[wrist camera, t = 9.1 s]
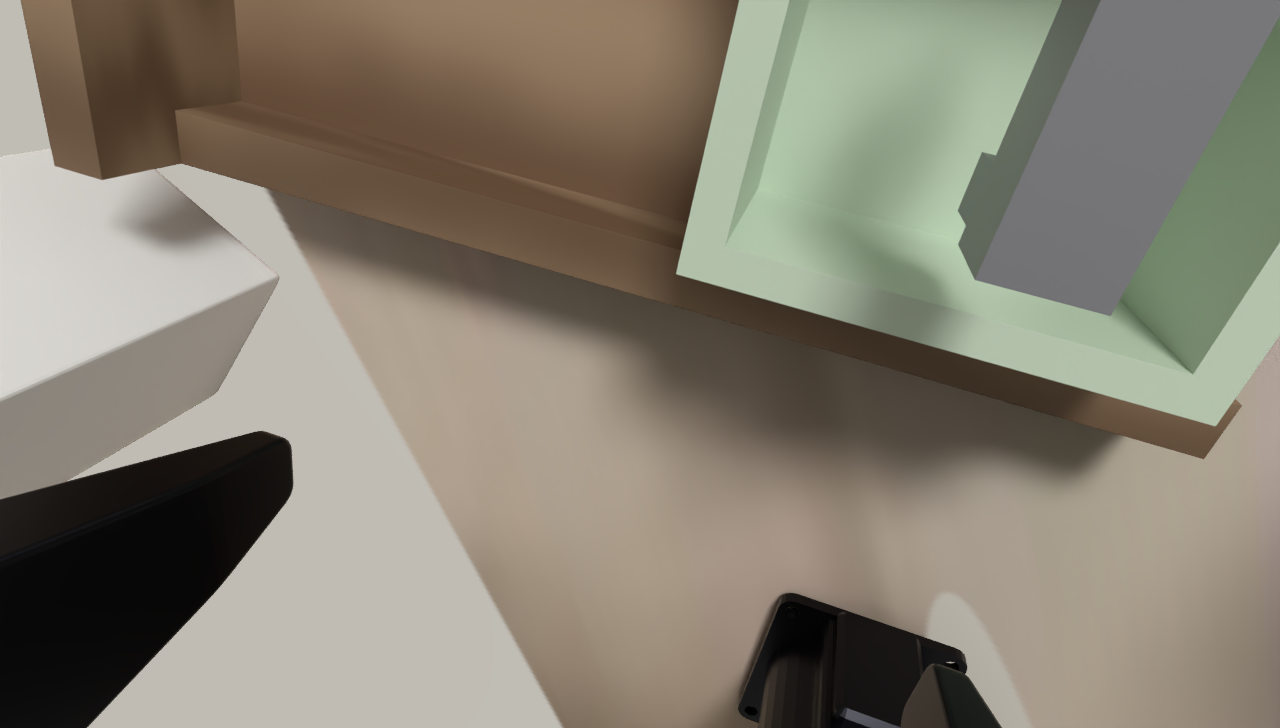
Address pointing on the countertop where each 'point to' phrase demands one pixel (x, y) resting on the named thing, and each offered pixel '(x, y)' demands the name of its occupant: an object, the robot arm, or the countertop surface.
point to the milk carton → (109, 313)
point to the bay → (471, 141)
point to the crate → (1010, 183)
